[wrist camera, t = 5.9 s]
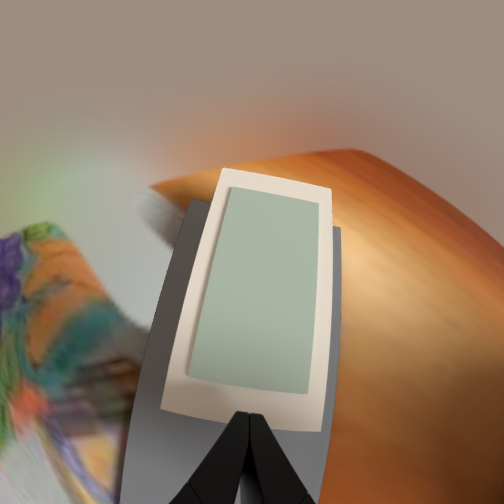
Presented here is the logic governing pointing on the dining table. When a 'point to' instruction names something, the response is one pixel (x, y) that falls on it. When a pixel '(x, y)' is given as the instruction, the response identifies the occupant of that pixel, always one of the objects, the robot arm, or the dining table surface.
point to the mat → (195, 429)
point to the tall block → (257, 306)
